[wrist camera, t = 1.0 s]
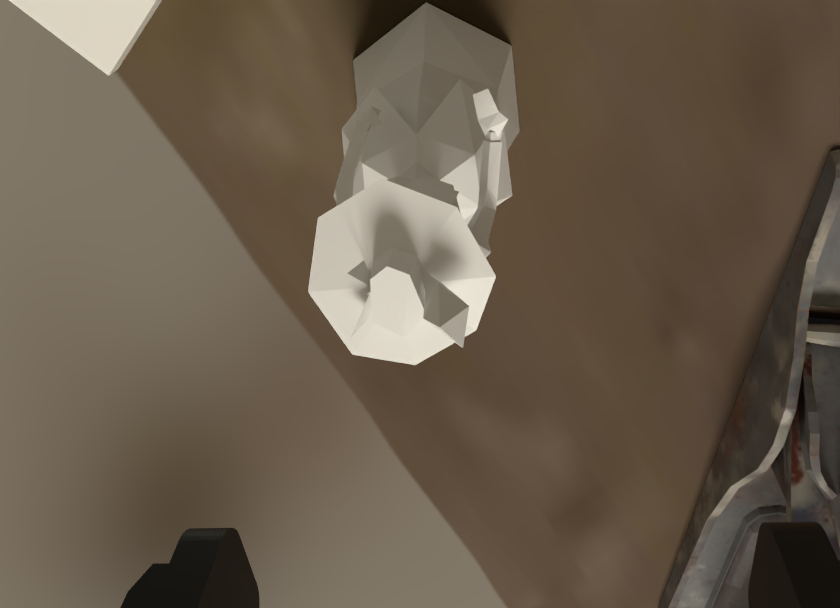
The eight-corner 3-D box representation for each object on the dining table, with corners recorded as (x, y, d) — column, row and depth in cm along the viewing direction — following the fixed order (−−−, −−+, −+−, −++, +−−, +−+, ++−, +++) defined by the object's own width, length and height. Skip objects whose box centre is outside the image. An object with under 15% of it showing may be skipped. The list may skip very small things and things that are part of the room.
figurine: (504, -13, 30) (531, 165, 15) (527, 176, 34) (566, 465, 19) (331, 19, 31) (192, 216, 16) (374, 198, 35) (297, 489, 20)
